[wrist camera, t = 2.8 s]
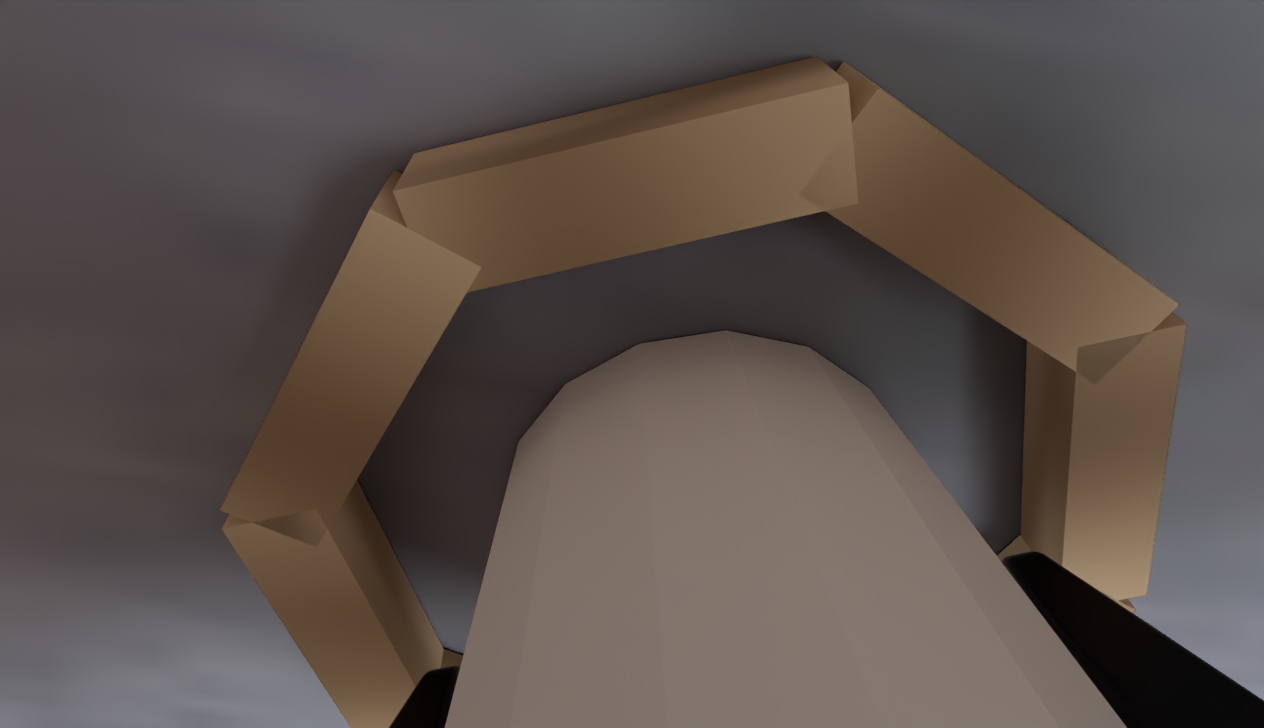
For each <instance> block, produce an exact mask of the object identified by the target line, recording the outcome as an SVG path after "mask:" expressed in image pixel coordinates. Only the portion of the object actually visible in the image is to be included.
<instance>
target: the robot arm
mask: <svg viewBox="0 0 1264 728" xmlns="http://www.w3.org/2000/svg"><path fill="white" fill-rule="evenodd" d="M1001 562H1002V564H1003V565H1004V566H1005V568H1006V569H1007V570H1008V572H1009V573H1010V574H1011V576H1012V577H1013V578H1014V579H1015V581H1016V582H1017V583H1018V585H1019V586H1020V587H1021V589H1022V590H1023V591H1024V593H1025V594H1026V595H1027V597H1028V598H1029V599H1030V601H1031V602H1032V603H1033V604H1034V606H1035V607H1036V608H1037V610H1038V611H1039V612H1040V614H1041V615H1042V616H1043V618H1044V619H1045V620H1046V622H1047V623H1048V624H1049V626H1050V627H1051V628H1052V629H1053V631H1054V632H1055V633H1056V635H1057V636H1058V637H1059V639H1060V640H1061V641H1062V643H1063V644H1064V645H1065V647H1066V648H1067V649H1068V651H1069V652H1070V653H1071V654H1072V656H1073V657H1074V658H1075V660H1076V661H1077V662H1078V664H1079V665H1080V666H1081V668H1082V669H1083V670H1084V672H1085V673H1086V674H1087V676H1088V677H1089V678H1090V679H1091V681H1092V682H1093V683H1094V685H1095V686H1096V687H1097V689H1098V690H1099V691H1100V693H1101V694H1102V695H1103V697H1104V698H1105V699H1106V701H1107V702H1108V703H1109V704H1110V706H1111V707H1112V708H1113V710H1114V711H1115V712H1116V714H1117V715H1118V716H1119V718H1120V719H1121V720H1122V722H1123V723H1124V724H1125V726H1126V727H1127V728H1264V701H1263V700H1262V699H1260V698H1259V697H1257V696H1256V695H1254V694H1253V693H1251V692H1250V691H1249V690H1247V689H1246V688H1244V687H1243V686H1241V685H1240V684H1238V683H1237V682H1235V681H1234V680H1232V679H1231V678H1229V677H1228V676H1226V675H1225V674H1223V673H1222V672H1220V671H1219V670H1217V669H1216V668H1214V667H1213V666H1211V665H1210V664H1208V663H1207V662H1205V661H1204V660H1202V659H1201V658H1199V657H1198V656H1196V655H1195V654H1193V653H1192V652H1190V651H1189V650H1187V649H1186V648H1184V647H1183V646H1181V645H1180V644H1178V643H1177V642H1175V641H1174V640H1172V639H1171V638H1169V637H1168V636H1166V635H1165V634H1163V633H1162V632H1160V631H1159V630H1157V629H1156V628H1154V627H1153V626H1151V625H1150V624H1148V623H1147V622H1145V621H1144V620H1142V619H1141V618H1139V617H1138V616H1136V615H1135V614H1133V613H1132V612H1130V611H1129V610H1127V609H1126V608H1124V607H1123V606H1121V605H1120V604H1118V603H1117V602H1115V601H1114V600H1112V599H1111V598H1109V597H1108V596H1106V595H1105V594H1103V593H1102V592H1100V591H1099V590H1097V589H1096V588H1094V587H1093V586H1091V585H1090V584H1088V583H1087V582H1085V581H1084V580H1082V579H1081V578H1079V577H1078V576H1076V575H1075V574H1073V573H1072V572H1070V571H1069V570H1067V569H1066V568H1064V567H1063V566H1061V565H1060V564H1058V563H1057V562H1055V561H1054V560H1052V559H1051V558H1049V557H1048V556H1046V555H1045V554H1043V553H1040V552H1036V551H1031V552H1026V553H1021V554H1016V555H1011V556H1007V557H1005V558H1003V559H1002V561H1001ZM459 670H460V667H459V666H449V667H444V668H439V669H434V670H431V671H428V672H427V673H426V674H424V675H423V677H422V678H421V679H420V681H419V682H418V684H417V685H416V687H415V688H414V690H413V691H412V693H411V695H410V696H409V698H408V699H407V701H406V702H405V704H404V705H403V707H402V708H401V710H400V711H399V713H398V714H397V716H396V717H395V719H394V720H393V722H392V723H391V725H390V727H389V728H445V724H446V721H447V717H448V713H449V709H450V705H451V701H452V697H453V694H454V690H455V686H456V682H457V678H458V674H459Z"/></svg>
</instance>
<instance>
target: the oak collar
mask: <svg viewBox="0 0 1264 728" xmlns="http://www.w3.org/2000/svg"><path fill="white" fill-rule="evenodd" d="M823 211H826V212H827V213H829V214H830V215H832V216H833V217H835V218H837V219H838V220H840V221H841V222H843V223H844V224H846V225H848V226H849V227H851V228H852V229H854V230H855V231H857V232H858V233H860V234H862V235H863V236H865V237H866V238H868V239H869V240H871V241H872V242H874V243H876V244H877V245H879V246H880V247H882V248H883V249H885V250H887V251H888V252H890V253H891V254H893V255H894V256H896V257H897V258H899V259H901V260H902V261H904V262H905V263H907V264H908V265H910V266H911V267H913V268H915V269H916V270H918V271H919V272H921V273H922V274H924V275H926V276H927V277H929V278H930V279H932V280H933V281H935V282H936V283H938V284H940V285H941V286H943V287H944V288H946V289H947V290H949V291H950V292H952V293H954V294H955V295H957V296H958V297H960V298H961V299H963V300H965V301H966V302H968V303H969V304H971V305H972V306H974V307H975V308H977V309H979V310H980V311H982V312H983V313H985V314H986V315H988V316H989V317H991V318H993V319H994V320H996V321H997V322H999V323H1000V324H1002V325H1004V326H1005V327H1007V328H1008V329H1010V330H1011V331H1013V332H1014V333H1016V334H1018V335H1019V336H1021V337H1022V338H1024V339H1025V340H1027V357H1026V387H1025V416H1024V446H1023V476H1022V506H1021V535H1020V536H1018V537H1017V538H1016V539H1015V540H1014V541H1013V542H1012V543H1011V544H1009V545H1008V546H1007V547H1006V548H1005V549H1004V550H1003V551H1002V552H1001V553H999V554H998V555H997V557H998V558H999V560H1000V561H1002V559H1003V558H1005V557H1007V556H1011V555H1016V554H1021V553H1026V552H1031V551H1036V552H1040V553H1043V554H1045V555H1046V556H1048V557H1049V558H1051V559H1052V560H1054V561H1055V562H1057V563H1058V564H1060V565H1061V566H1063V567H1064V568H1066V569H1067V570H1069V571H1070V572H1072V573H1073V574H1075V575H1076V576H1078V577H1079V578H1081V579H1082V580H1084V581H1085V582H1087V583H1088V584H1090V585H1091V586H1093V587H1094V588H1096V589H1097V590H1099V591H1100V592H1102V593H1103V594H1105V595H1106V596H1108V597H1109V598H1111V599H1112V600H1114V601H1115V602H1117V603H1118V604H1120V605H1121V606H1123V607H1124V608H1126V609H1127V610H1129V611H1130V612H1132V613H1133V612H1134V611H1135V610H1136V609H1135V608H1134V606H1133V605H1132V604H1131V602H1130V601H1129V600H1128V598H1133V597H1138V596H1144V595H1146V594H1147V587H1148V581H1149V574H1150V567H1151V561H1152V554H1153V547H1154V541H1155V534H1156V527H1157V521H1158V514H1159V507H1160V501H1161V494H1162V487H1163V480H1164V474H1165V467H1166V460H1167V454H1168V447H1169V440H1170V434H1171V427H1172V420H1173V414H1174V407H1175V400H1176V394H1177V387H1178V380H1179V374H1180V367H1181V360H1182V354H1183V347H1184V340H1185V333H1186V327H1187V324H1186V323H1185V322H1184V321H1182V320H1181V319H1180V318H1178V317H1177V316H1176V315H1174V314H1173V313H1172V312H1173V311H1174V310H1175V309H1176V308H1177V307H1178V306H1179V304H1178V303H1176V302H1175V301H1174V300H1172V299H1171V298H1170V297H1168V296H1167V295H1165V294H1164V293H1163V292H1161V291H1160V290H1159V289H1157V288H1156V287H1155V286H1153V285H1152V284H1151V283H1149V282H1148V281H1147V280H1145V279H1144V278H1143V277H1141V276H1140V275H1139V274H1137V273H1136V272H1135V271H1133V270H1132V269H1131V268H1129V267H1128V266H1126V265H1125V264H1124V263H1122V262H1121V261H1120V260H1118V259H1117V258H1116V257H1114V256H1113V255H1111V254H1110V253H1109V252H1107V251H1106V250H1105V249H1103V248H1102V247H1100V246H1099V245H1098V244H1096V243H1095V242H1093V241H1092V240H1091V239H1089V238H1088V237H1087V236H1085V235H1084V234H1082V233H1081V232H1080V231H1078V230H1077V229H1075V228H1074V227H1073V226H1071V225H1070V224H1069V223H1067V222H1066V221H1064V220H1063V219H1062V218H1060V217H1059V216H1057V215H1056V214H1055V213H1053V212H1052V211H1051V210H1049V209H1048V208H1046V207H1045V206H1044V205H1042V204H1041V203H1039V202H1038V201H1037V200H1035V199H1034V198H1033V197H1031V196H1030V195H1028V194H1027V193H1026V192H1024V191H1023V190H1021V189H1020V188H1019V187H1017V186H1016V185H1015V184H1013V183H1012V182H1010V181H1009V180H1008V179H1006V178H1005V177H1003V176H1002V175H1001V174H999V173H998V172H997V171H995V170H994V169H992V168H991V167H990V166H988V165H987V164H985V163H984V162H983V161H981V160H980V159H979V158H977V157H976V156H974V155H973V154H972V153H970V152H969V151H967V150H966V149H965V148H963V147H962V146H961V145H959V144H958V143H956V142H955V141H954V140H952V139H951V138H949V137H948V136H947V135H945V134H944V133H943V132H941V131H940V130H938V129H937V128H936V127H934V126H933V125H931V124H930V123H929V122H927V121H926V120H925V119H923V118H922V117H920V116H919V115H918V114H916V113H915V112H913V111H912V110H911V109H909V108H908V107H907V106H905V105H904V104H902V103H901V102H900V101H898V100H897V99H895V98H894V97H893V96H891V95H890V94H889V93H887V92H886V91H884V90H883V89H882V88H880V87H879V86H877V85H876V84H875V83H873V82H872V81H871V80H869V79H868V78H866V77H865V76H864V75H862V74H861V73H859V72H858V71H857V70H855V69H854V68H853V67H851V66H850V65H848V64H847V63H846V62H844V61H843V63H842V64H841V66H840V67H839V68H838V70H837V71H836V72H835V71H834V70H833V69H831V68H830V67H829V66H828V65H827V64H825V63H824V62H823V61H822V60H821V59H819V58H818V57H817V56H816V57H812V58H807V59H803V60H799V61H795V62H791V63H787V64H783V65H778V66H774V67H770V68H766V69H762V70H758V71H754V72H749V73H745V74H741V75H737V76H733V77H729V78H724V79H720V80H716V81H712V82H708V83H704V84H700V85H695V86H691V87H687V88H683V89H679V90H675V91H671V92H666V93H662V94H658V95H654V96H650V97H646V98H641V99H637V100H633V101H629V102H625V103H621V104H617V105H612V106H608V107H604V108H600V109H596V110H592V111H587V112H583V113H579V114H575V115H571V116H567V117H563V118H558V119H554V120H550V121H546V122H542V123H538V124H534V125H529V126H525V127H521V128H517V129H513V130H509V131H504V132H500V133H496V134H492V135H488V136H484V137H480V138H475V139H471V140H467V141H463V142H459V143H455V144H451V145H446V146H442V147H438V148H434V149H430V150H426V151H421V152H417V153H414V154H413V156H412V158H411V160H410V161H409V163H408V165H407V167H406V168H405V170H404V172H403V174H402V173H400V172H398V171H396V170H394V169H393V171H392V173H391V174H390V176H389V178H388V179H387V181H386V183H385V184H384V186H383V188H382V189H381V191H380V193H379V194H378V196H377V198H376V199H375V201H374V203H373V204H372V206H371V208H370V210H369V212H368V214H367V216H366V218H365V220H364V222H363V224H362V226H361V228H360V230H359V232H358V234H357V236H356V238H355V240H354V242H353V244H352V246H351V248H350V250H349V252H348V254H347V256H346V258H345V260H344V262H343V264H342V266H341V268H340V270H339V272H338V274H337V276H336V278H335V280H334V282H333V284H332V286H331V288H330V290H329V292H328V294H327V296H326V298H325V300H324V302H323V304H322V306H321V308H320V310H319V312H318V314H317V316H316V318H315V320H314V322H313V324H312V326H311V328H310V330H309V332H308V334H307V336H306V338H305V340H304V342H303V344H302V346H301V348H300V350H299V352H298V354H297V356H296V358H295V360H294V362H293V364H292V366H291V368H290V370H289V372H288V374H287V376H286V378H285V380H284V382H283V384H282V386H281V388H280V390H279V392H278V394H277V396H276V398H275V400H274V402H273V404H272V406H271V408H270V410H269V412H268V414H267V416H266V418H265V420H264V422H263V424H262V426H261V428H260V430H259V432H258V434H257V436H256V438H255V440H254V442H253V444H252V447H251V449H250V451H249V453H248V455H247V457H246V459H245V461H244V463H243V465H242V467H241V469H240V471H239V473H238V475H237V477H236V479H235V481H234V483H233V485H232V487H231V489H230V491H229V493H228V495H227V497H226V499H225V501H224V503H223V505H222V507H221V509H220V511H223V512H225V513H228V514H229V516H228V518H227V520H226V522H225V524H224V525H223V527H222V531H223V532H224V534H225V535H226V537H227V538H228V540H229V541H230V543H231V544H232V546H233V547H234V549H235V551H236V552H237V554H238V555H239V557H240V558H241V560H242V561H243V563H244V564H245V566H246V567H247V569H248V571H249V572H250V574H251V575H252V577H253V578H254V580H255V581H256V583H257V584H258V586H259V587H260V589H261V590H262V592H263V594H264V595H265V597H266V598H267V600H268V601H269V603H270V604H271V606H272V607H273V609H274V610H275V612H276V614H277V615H278V617H279V618H280V620H281V621H282V623H283V624H284V626H285V627H286V629H287V630H288V632H289V633H290V635H291V637H292V638H293V640H294V641H295V643H296V644H297V646H298V647H299V649H300V650H301V652H302V653H303V655H304V657H305V658H306V660H307V661H308V663H309V664H310V666H311V667H312V669H313V670H314V672H315V673H316V675H317V676H318V678H319V680H320V681H321V683H322V684H323V686H324V687H325V689H326V690H327V692H328V693H329V695H330V696H331V698H332V700H333V701H334V703H335V704H336V706H337V707H338V709H339V710H340V712H341V713H342V715H343V716H344V718H345V719H346V721H347V723H348V724H349V726H350V727H351V728H389V727H390V725H391V723H392V722H393V720H394V719H395V717H396V716H397V714H398V713H399V711H400V710H401V708H402V707H403V705H404V704H405V702H406V701H407V699H408V698H409V696H410V695H411V693H412V691H413V690H414V688H415V687H416V685H417V684H418V682H419V681H420V679H421V678H422V677H423V675H424V674H426V673H427V672H428V671H431V670H434V669H439V668H444V667H449V666H459V667H460V666H461V663H462V659H463V656H462V655H459V654H456V653H454V652H451V651H448V650H445V649H443V647H442V645H441V643H440V641H439V639H438V637H437V635H436V633H435V631H434V629H433V627H432V625H431V623H430V621H429V619H428V617H427V615H426V613H425V612H424V610H423V608H422V606H421V604H420V602H419V600H418V598H417V596H416V594H415V592H414V590H413V588H412V586H411V584H410V582H409V580H408V578H407V576H406V575H405V573H404V571H403V569H402V567H401V565H400V563H399V561H398V559H397V557H396V555H395V553H394V551H393V549H392V547H391V545H390V543H389V541H388V539H387V538H386V536H385V534H384V532H383V530H382V528H381V526H380V524H379V522H378V520H377V518H376V516H375V514H374V512H373V510H372V508H371V506H370V504H369V502H368V501H367V499H366V497H365V495H364V493H363V491H362V489H361V487H360V485H359V483H358V481H357V478H358V477H359V475H360V473H361V472H362V470H363V468H364V467H365V465H366V463H367V461H368V460H369V458H370V456H371V455H372V453H373V451H374V450H375V448H376V446H377V444H378V443H379V441H380V439H381V438H382V436H383V434H384V433H385V431H386V429H387V427H388V426H389V424H390V422H391V421H392V419H393V417H394V415H395V414H396V412H397V410H398V409H399V407H400V405H401V404H402V402H403V400H404V398H405V397H406V395H407V393H408V392H409V390H410V388H411V387H412V385H413V383H414V381H415V380H416V378H417V376H418V375H419V373H420V371H421V370H422V368H423V366H424V364H425V363H426V361H427V359H428V358H429V356H430V354H431V352H432V351H433V349H434V347H435V346H436V344H437V342H438V341H439V339H440V337H441V335H442V334H443V332H444V330H445V329H446V327H447V325H448V324H449V322H450V320H451V318H452V317H453V315H454V313H455V312H456V310H457V308H458V307H459V305H460V303H461V301H462V300H463V298H464V296H465V295H466V293H468V292H472V291H476V290H481V289H485V288H490V287H494V286H498V285H503V284H507V283H511V282H516V281H520V280H525V279H529V278H533V277H538V276H542V275H547V274H551V273H555V272H560V271H564V270H568V269H573V268H577V267H582V266H586V265H590V264H595V263H599V262H604V261H608V260H612V259H617V258H621V257H625V256H630V255H634V254H639V253H643V252H647V251H652V250H656V249H661V248H665V247H669V246H674V245H678V244H682V243H687V242H691V241H696V240H700V239H704V238H709V237H713V236H718V235H722V234H726V233H731V232H735V231H739V230H744V229H748V228H753V227H757V226H761V225H766V224H770V223H775V222H779V221H783V220H788V219H792V218H796V217H801V216H805V215H810V214H814V213H818V212H823Z"/></svg>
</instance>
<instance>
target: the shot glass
mask: <svg viewBox="0 0 1264 728" xmlns="http://www.w3.org/2000/svg"><path fill="white" fill-rule="evenodd" d="M445 728H1127V727H1126V726H1125V724H1124V723H1123V722H1122V720H1121V719H1120V718H1119V716H1118V715H1117V714H1116V712H1115V711H1114V710H1113V708H1112V707H1111V706H1110V704H1109V703H1108V702H1107V701H1106V699H1105V698H1104V697H1103V695H1102V694H1101V693H1100V691H1099V690H1098V689H1097V687H1096V686H1095V685H1094V683H1093V682H1092V681H1091V679H1090V678H1089V677H1088V676H1087V674H1086V673H1085V672H1084V670H1083V669H1082V668H1081V666H1080V665H1079V664H1078V662H1077V661H1076V660H1075V658H1074V657H1073V656H1072V654H1071V653H1070V652H1069V651H1068V649H1067V648H1066V647H1065V645H1064V644H1063V643H1062V641H1061V640H1060V639H1059V637H1058V636H1057V635H1056V633H1055V632H1054V631H1053V629H1052V628H1051V627H1050V626H1049V624H1048V623H1047V622H1046V620H1045V619H1044V618H1043V616H1042V615H1041V614H1040V612H1039V611H1038V610H1037V608H1036V607H1035V606H1034V604H1033V603H1032V602H1031V601H1030V599H1029V598H1028V597H1027V595H1026V594H1025V593H1024V591H1023V590H1022V589H1021V587H1020V586H1019V585H1018V583H1017V582H1016V581H1015V579H1014V578H1013V577H1012V576H1011V574H1010V573H1009V572H1008V570H1007V569H1006V568H1005V566H1004V565H1003V564H1002V562H1001V561H1000V560H999V558H998V557H997V556H996V554H995V553H994V552H993V551H992V549H991V548H990V547H989V545H988V544H987V543H986V541H985V540H984V539H983V537H982V536H981V535H980V533H979V532H978V531H977V529H976V528H975V527H974V526H973V524H972V523H971V522H970V520H969V519H968V518H967V516H966V515H965V514H964V512H963V511H962V510H961V508H960V507H959V506H958V504H957V503H956V502H955V501H954V499H953V498H952V497H951V495H950V494H949V493H948V491H947V490H946V489H945V487H944V486H943V485H942V483H941V482H940V481H939V479H938V478H937V477H936V475H935V474H934V473H933V472H932V470H931V469H930V468H929V466H928V465H927V464H926V462H925V461H924V460H923V458H922V457H921V456H920V454H919V453H918V452H917V450H916V449H915V448H914V447H913V445H912V444H911V443H910V441H909V440H908V439H907V437H906V436H905V435H904V433H903V432H902V431H901V429H900V428H899V427H898V425H897V424H896V423H895V422H894V420H893V419H892V418H891V416H890V415H889V414H888V412H887V411H886V410H885V408H884V407H883V406H882V404H881V403H880V402H879V400H878V399H877V398H876V397H875V395H874V394H873V393H872V391H871V390H870V389H869V388H868V387H867V386H865V385H864V384H862V383H861V382H859V381H858V380H856V379H855V378H853V377H852V376H851V375H849V374H848V373H846V372H845V371H843V370H842V369H840V368H839V367H837V366H836V365H834V364H833V363H831V362H830V361H829V360H827V359H826V358H824V357H823V356H821V355H820V354H818V353H817V352H815V351H814V350H812V349H811V348H809V347H807V346H802V345H797V344H792V343H787V342H782V341H777V340H772V339H767V338H762V337H757V336H752V335H747V334H742V333H737V332H732V331H727V330H725V331H719V332H713V333H706V334H700V335H693V336H687V337H680V338H674V339H667V340H661V341H654V342H648V343H641V344H638V345H636V346H634V347H632V348H630V349H629V350H627V351H625V352H623V353H621V354H619V355H618V356H616V357H614V358H612V359H610V360H608V361H607V362H605V363H603V364H601V365H599V366H597V367H596V368H594V369H592V370H590V371H588V372H586V373H585V374H583V375H581V376H579V377H577V378H575V379H574V380H572V381H570V382H568V383H566V384H565V385H564V386H563V387H562V389H561V390H560V391H559V392H558V394H557V395H556V396H555V397H554V398H553V400H552V401H551V402H550V403H549V405H548V406H547V407H546V408H545V410H544V411H543V412H542V413H541V414H540V416H539V417H538V418H537V419H536V421H535V422H534V423H533V424H532V425H531V427H530V428H529V429H528V430H527V432H526V433H525V434H524V435H523V437H522V438H521V439H520V440H519V442H518V446H517V450H516V453H515V457H514V461H513V465H512V469H511V473H510V477H509V481H508V484H507V488H506V492H505V496H504V500H503V504H502V508H501V512H500V515H499V519H498V523H497V527H496V531H495V535H494V539H493V542H492V546H491V550H490V554H489V558H488V562H487V566H486V570H485V573H484V577H483V581H482V585H481V589H480V593H479V597H478V601H477V604H476V608H475V612H474V616H473V620H472V624H471V628H470V632H469V635H468V639H467V643H466V647H465V651H464V655H463V659H462V663H461V666H460V670H459V674H458V678H457V682H456V686H455V690H454V694H453V697H452V701H451V705H450V709H449V713H448V717H447V721H446V724H445Z"/></svg>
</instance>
